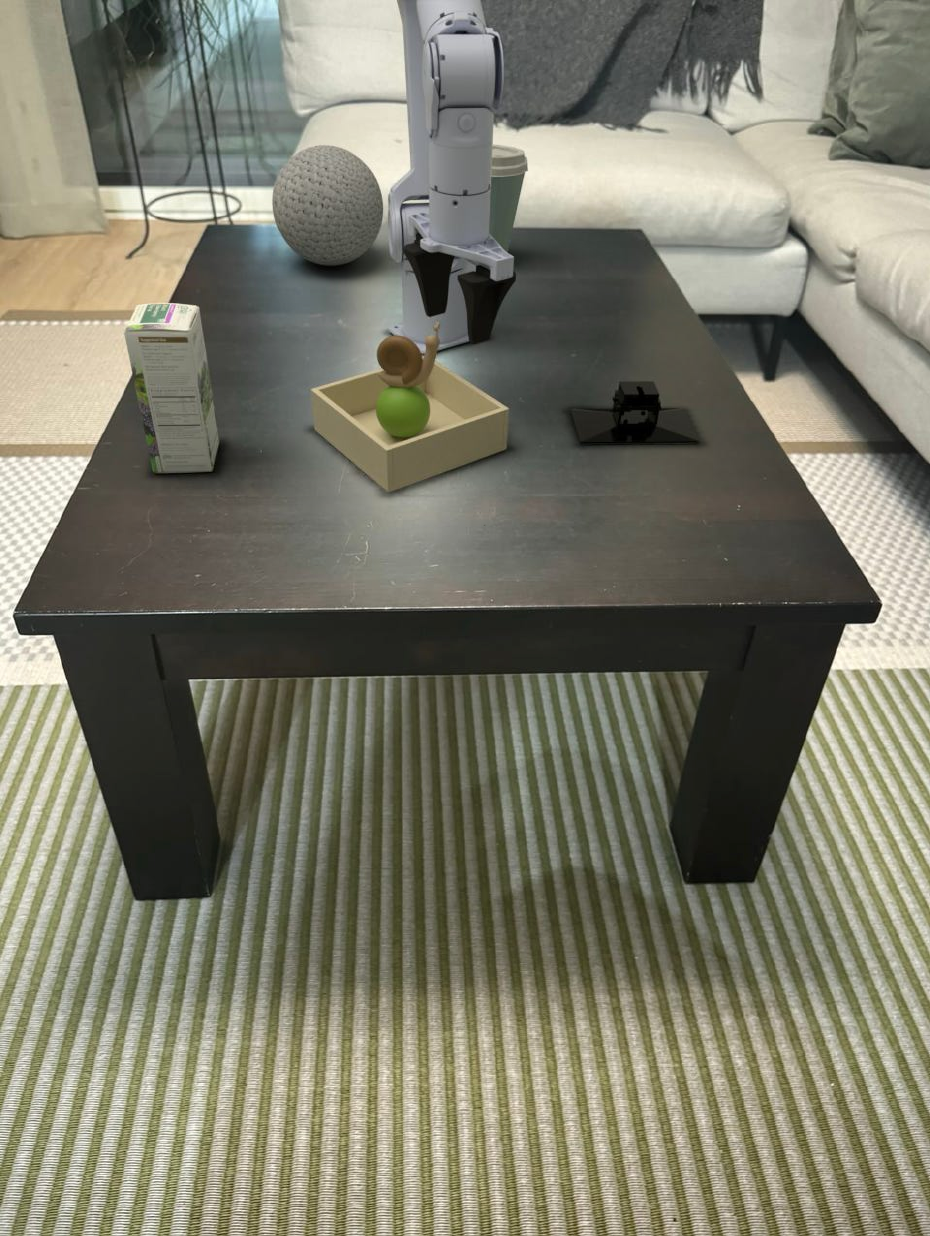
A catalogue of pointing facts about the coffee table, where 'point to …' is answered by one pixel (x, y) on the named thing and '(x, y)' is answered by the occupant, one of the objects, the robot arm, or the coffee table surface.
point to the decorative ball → (327, 205)
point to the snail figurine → (405, 384)
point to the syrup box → (173, 386)
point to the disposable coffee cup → (505, 191)
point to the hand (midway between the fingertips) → (457, 327)
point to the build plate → (634, 419)
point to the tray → (449, 439)
